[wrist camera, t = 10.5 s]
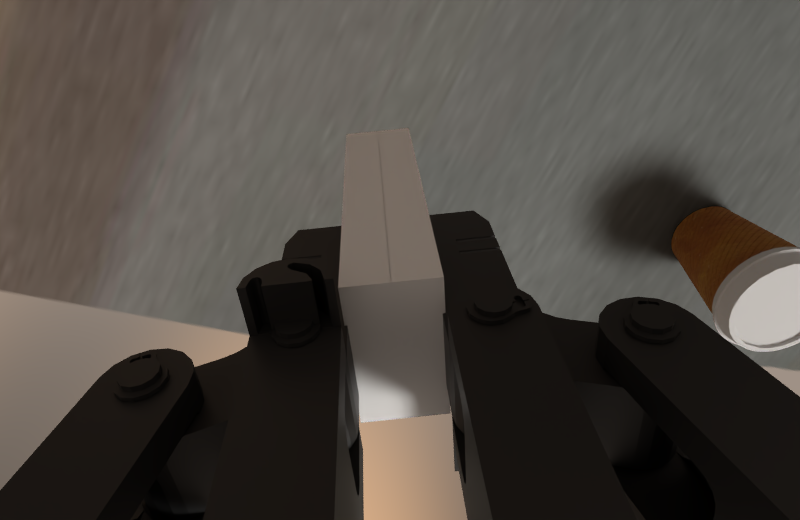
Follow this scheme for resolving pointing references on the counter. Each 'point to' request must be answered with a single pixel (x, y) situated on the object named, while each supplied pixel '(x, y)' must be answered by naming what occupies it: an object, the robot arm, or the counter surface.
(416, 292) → the robot arm
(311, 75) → the counter surface
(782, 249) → the disposable coffee cup
